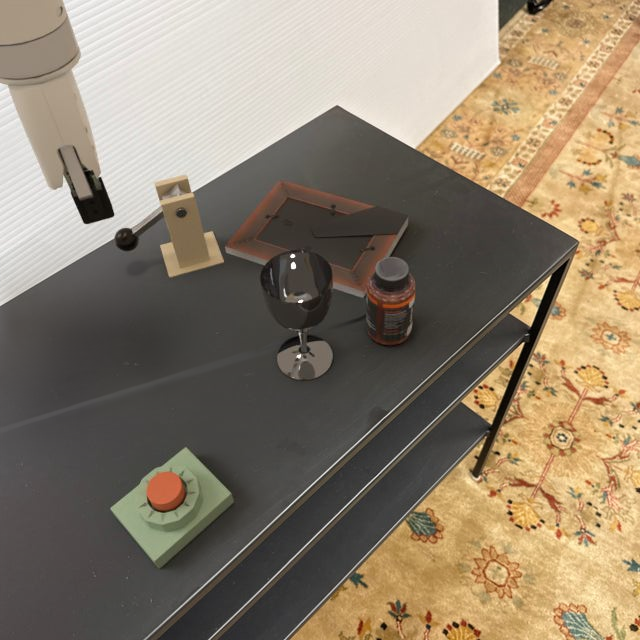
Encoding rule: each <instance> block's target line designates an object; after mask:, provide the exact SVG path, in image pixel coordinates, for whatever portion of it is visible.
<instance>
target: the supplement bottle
mask: <svg viewBox="0 0 640 640" xmlns="http://www.w3.org/2000/svg"><path fill="white" fill-rule="evenodd" d="M416 286H417V285H416V281H415V278H414V276H413V275H412V274H411V273H410V267H409V265H408V263H407V262H406V261H405V260H404V259H402V258H399V257H396V256H389V257H387V258H384V259H381V260H380V261H379V262H378V263H377V264H376V266H375V272H373V273H372V274H371V275H370V277H369V279H368V281H367V292H366V294H365V296H366V297H365V298H366V299H365V301H366V302H365V303H366V307H365V309H366V311H365V312H366V313H365V319H366V321H365V324H366V325H365V327H366V331H367V332H366V333H367V334H368V336H369V337H370V338H371V339H372V341H374V342H375V343H377V344H380V345H385V346H395V345H399V344H402V343H404V342H405V341H406V340H407V339H408V338H409V337H410V336H411V333H412V330H413V323H414V313H415V312H414V311H415V310H414V309H415V301H416V300H415V299H416Z"/></svg>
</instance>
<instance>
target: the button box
mask: <svg viewBox="0 0 640 640" xmlns="http://www.w3.org/2000/svg"><path fill="white" fill-rule="evenodd" d="M161 472H173V473H175V474H177V475H178V476H179V477H180V479H181V481H182V483H183V485H184V488H185V496H184V499H183V501H182V502H181V504H180V505H179V506H178V507H176V508H175V509H173V510H170V511H160V510H158V509H156V508H155V507H154V506H153V505H152V504H151V502H150V500H149V498H148V496H147V493H146V490H147V485H148V483H149V481H150V480H151V479H152V478H153V477H154V476H155V475H157V474H159V473H161ZM234 503H235V499H234V497H233V493H232V492H231V491H230V490H229V489H228V488H227V487H226V486H225V485H224V484H223V483H222V482H221V481H220V480H219V479H218V478H217V477H216V476H215V474H214V473H212V472H211V471H210V470H209V469H208V468H207V466H205V464H204V463H202V462H201V461H200V459H198V457H196V455H195V454H193V453H192V452H191V450H190V449H189V448H187V447H186V446H185V447H184V448H183V449H181V450H180V451H178V452H177V453H176V454H175V455H174V456H172V457H171V458H169V460H167V461H166V462H165V463H164V464H163V465H162V466H158V467H154V469H152V470H151V471H150V472H148V474H146V475H145V476H144V477H142V479H141V481H140V483H139V484H138V485H137V486H135V487H134V488H133V489H132V490H130V491H129V492H128V493H127V494H126V495H124V496H123V497H122V498H120V500H118V501H117V502H116V503H115V504H113V505H112V506H111V507H110V511H111V512H112V513H113V515H114V516H115V518H116V519H117V520H118V521H119V522H120V524H121V525H122V526H123V527H124V528H125V530H126V531H127V532H128V533H129V535H130V536H131V537H132V538H133V539H134V540H135V542H136V543H137V545H139V547H140V548H141V549H142V550H143V552H144V553H145V554H146V555H147V556H148V558H149V559H150V560H151V561H152V562H153V563H154V565H155V566H156V568H158V569H159V570H160V569H162V568H163V567H164V566H165V564H167V563H169V561H170V560H171V559H172V558H173V557H174V556H176V555H177V554H178V553H179V552H181V550H183V549H184V548H185V547H186V546H187V545H188V544H189V543H191V541H193V540H194V539H195V538H196V537H197V536H198V535H199V534H200V533H202V532H203V531H204V530H205V529H206V528H207V527H208V526H209V525H210V524H211V523H213V522H214V521H215V520H216V519H217V518H218V517H219V516H221V515H222V514H223V513H224V512H225V511H227V509H228V508H230V507H231V506H232V505H233V504H234Z"/></svg>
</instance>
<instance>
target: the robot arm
mask: <svg viewBox="0 0 640 640" xmlns="http://www.w3.org/2000/svg"><path fill="white" fill-rule="evenodd" d="M81 57H82V53H81V48H80V46H79V44H78V40H77V37H76V35H75V32H74V29H73V26H72V24H71V19H70V17H69V14H68V11H67V9H66V6H65V3H64V0H0V84H2V85H5V86H7V88H8V91H9V94H10V96H11V99H12V102H13V104H14V107H15V110H16V112H17V115H18V117H19V120H20V122H21V125H22V127H23V129H24V132H25V135H26V136H27V139H28V141H29V144H30V146H31V149H32V150H33V153H34V155H35V159H36V160H37V163H38V165H39V167H40V170H41V172H42V174H43V177H44V179H45V182H46V184H47V187H48V188H49V189H51V190H53V191H56V190H58V189H60V188H61V189H62V188H63V186H64V180H65V181H66V183H67V185H68V188H69V190H70V195H71V198H72V200H73V202H74V204H75V206H76V209H77V211H78V213H79V216H80V218H81V221H82V223H83V224H84V225H91V224H94V223H98V222H101V221H105V220H109V219H112V218H114V217H115V211H114V207H113V205H112V201H111V198H110V195H109V193H108V191H107V188H106V185H105V184H104V183H105V182H104V181H103V178H102V176H100V175H101V173H102V170H101V167H100V161H99V157H98V152H97V147H96V144H95V138H94V135H93V131H92V130H93V129H92V126H91V123H90V119H89V116H88V112H87V110H86V107H85V104H84V101H83V98H82V94H81V93H80V89H79V86H78V83H77V82H76V81H77V80H76V77H75V75H74V72H73V69H74V68H75V67H76V66H77V64H78V63H79V62H80V60H81Z"/></svg>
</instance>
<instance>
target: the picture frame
mask: <svg viewBox="0 0 640 640" xmlns="http://www.w3.org/2000/svg"><path fill="white" fill-rule="evenodd" d="M408 226H409V214H406V213H402V212H400V211H395V210H392V209H389V208H385V207H381V206H378V205H375V206H374V205H372V204H371V205H370V204H368V203H365V202H360V201H357V200H353V199H351V198H350V199H349V198H347V197H343V196H338V195H335V194H332V193H328V192H325V191H321V190H318V189H314V188H310V187H308V186H304V185H300V184H296V183H294V182H289V181H286V180H282V179H279V180H278V181H277V182H276V183H275V185H273V187H272V188H271V189H270V191H269V192H268V193H267V194H266V196H265V197H264V198H263V200H261V202H260V203H259V204H258V205H257V206H256V208H255V209H254V210H253V211H252V213H251V214H250V215H249V217H247V218H246V220H245V221H244V222H243V224H241V226H240V227H239V229H238V230H237V231H236V232H235V233H234V234H233V236H231V238H230V239H229V240H228V242H226V244H225V245H224V249H225V253H226V254H228V255H232V256H234V257H237V258H240V259H243V260H247V261H250V262H252V263H255V264H259V265H261V266H263V267H264V266H265V264H266V263H267V262H268V261H269V260H270V259H272V258H273V257H275V256H277V255H279V254H281V253H284V252H287V251H293V250H305V251H310V252H313V253H316V254H318V255H320V256H322V257H323V258H324V259H325V260H326V261H327V262H328V263H329V264H330V266H331V269H332V274H333V290H336V291H337V290H338V291H340V292H343V293H346V294H350V295H353V296H356V297H359V298H362V299H364V297H365V296H366V292H367V281H368V279H369V277H370V275H371V274H372V273H373V272H375V266H376V264H377V263H378V262H379V261H380V260H381V259H384V258H387V257H391V255H392V253H393V251H394V249H395V248H396V246H397V245H398V243H399V241H400V239H401V238H402V236H403V234H404V233H405V231H406V229H407V227H408Z"/></svg>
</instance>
